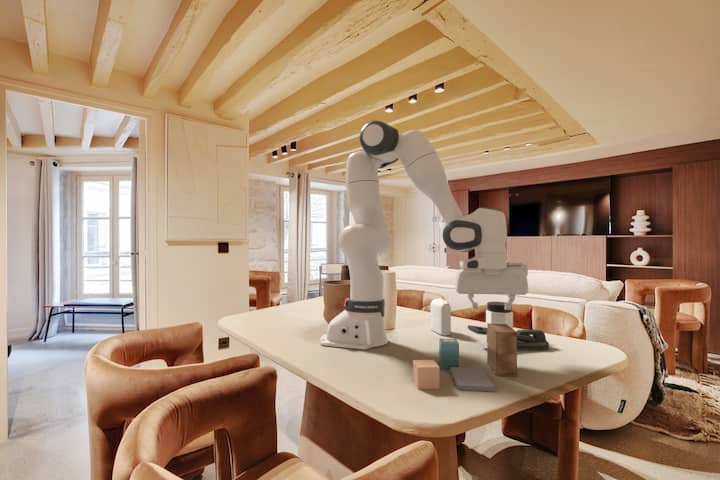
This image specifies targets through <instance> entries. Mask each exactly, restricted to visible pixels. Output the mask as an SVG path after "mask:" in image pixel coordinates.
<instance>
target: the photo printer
mask: <svg viewBox="0 0 720 480" xmlns="http://www.w3.org/2000/svg"><path fill="white" fill-rule="evenodd" d="M451 309H452V308H451V305H450V304H449V302H447V301H446V300H444V299H443V298H435V299H433V300H432V301H431V302H430V330H431V331H432V332H434V333H437V334H439V335H440V336H447V337H448V336H450V335H451V333H452V332H451V330H452V324H451V323H452V321H451V319H452V315H451V314H452V312H451V311H452V310H451Z"/></svg>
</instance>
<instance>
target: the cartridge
mask: <svg viewBox="0 0 720 480" xmlns="http://www.w3.org/2000/svg"><path fill="white" fill-rule="evenodd" d="M438 341H439V343H438V344H439V346H438V347H439V349H438V350H439V351H438V352H439V354H438V356H439V357H438V359H439V362H438V364H439V365H438V366H439V369H440V370H441V371H450V367H460V343H459V341H458V339H456V338H439V340H438Z"/></svg>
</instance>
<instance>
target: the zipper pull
mask: <svg viewBox="0 0 720 480" xmlns="http://www.w3.org/2000/svg"><path fill="white" fill-rule="evenodd" d="M467 329H468V330H469V331H471V332H473V333H475V334H477V335H484V336H486V335H487V328H486V327H484V326H483V327H482V326H478V325H477V326H476V325H469V324H468V325H467ZM515 331H516V332H517V352H518V351H519V352H520V351H522V352H523V351H524V352H525V351H526V352H527V351H528V352H534V351H535V352H538V351H539V352H543V351H544V352H545V351H549V350H550V349H549V348H550V345H549V344H550V343H549V342H548V340H547V339H546V334H545V332H544V331H542V330H540V329H517V330H515Z"/></svg>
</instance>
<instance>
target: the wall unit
mask: <svg viewBox="0 0 720 480" xmlns="http://www.w3.org/2000/svg"><path fill="white" fill-rule="evenodd" d="M516 331H517V330H515V329H514V328H513V329H512V328H511V327H509V326H508V325H507V324H488V328H487V336H486V344H487V345H486V348H487V350H486V354H487V355H486V357H487V359H486V361H487V362H486V363H487V365H488V366H489V368H490V369H491V370H492V372H493V373H494V375H495V376H499V377H517V376H518V351H517V332H516Z"/></svg>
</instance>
